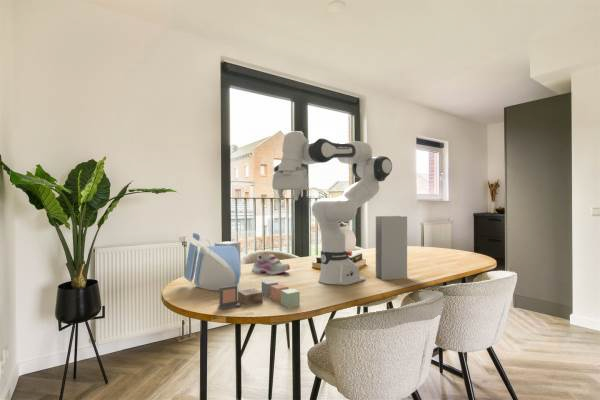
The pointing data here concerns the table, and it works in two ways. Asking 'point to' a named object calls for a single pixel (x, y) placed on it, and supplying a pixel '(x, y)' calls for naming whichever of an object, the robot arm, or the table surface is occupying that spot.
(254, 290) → the brown curved block
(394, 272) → the tall grey pillar
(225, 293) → the tile
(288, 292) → the sage cube
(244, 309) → the table surface
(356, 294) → the table surface
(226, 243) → the supplement box
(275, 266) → the running shoe
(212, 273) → the retro all-in-one computer
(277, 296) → the terracotta cube
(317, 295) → the table surface
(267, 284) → the slate cube
